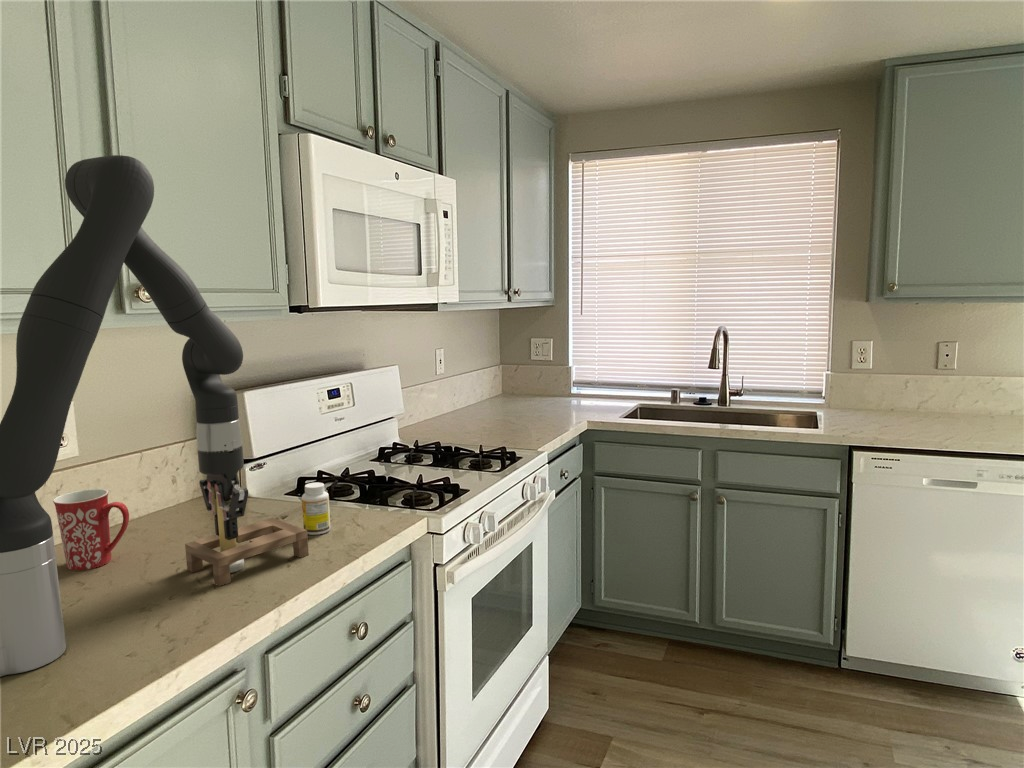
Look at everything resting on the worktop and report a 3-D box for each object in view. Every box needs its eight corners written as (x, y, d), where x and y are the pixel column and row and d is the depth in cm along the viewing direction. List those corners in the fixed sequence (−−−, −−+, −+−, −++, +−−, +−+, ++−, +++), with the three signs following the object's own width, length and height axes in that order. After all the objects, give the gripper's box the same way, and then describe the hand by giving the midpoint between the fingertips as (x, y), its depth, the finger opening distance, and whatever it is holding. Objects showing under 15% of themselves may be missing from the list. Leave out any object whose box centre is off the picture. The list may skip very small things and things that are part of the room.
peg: (223, 575, 125) (217, 494, 123) (210, 568, 128) (203, 489, 126) (249, 566, 129) (243, 487, 127) (235, 560, 132) (229, 483, 130)
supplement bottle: (310, 526, 151) (307, 480, 150) (334, 527, 150) (332, 481, 149) (299, 535, 146) (296, 488, 144) (324, 536, 145) (321, 488, 143)
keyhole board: (220, 586, 121) (217, 559, 120) (187, 569, 129) (185, 543, 128) (308, 554, 135) (307, 530, 134) (274, 541, 142) (272, 517, 142)
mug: (49, 574, 128) (41, 503, 126) (79, 555, 137) (72, 489, 135) (118, 572, 128) (111, 501, 126) (143, 553, 137) (137, 487, 135)
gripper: (181, 443, 127) (188, 534, 129) (219, 454, 118) (227, 551, 121) (220, 436, 133) (227, 523, 135) (259, 446, 124) (266, 538, 126)
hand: (227, 536), depth 128 cm, fingers closed on peg, 2 cm apart
